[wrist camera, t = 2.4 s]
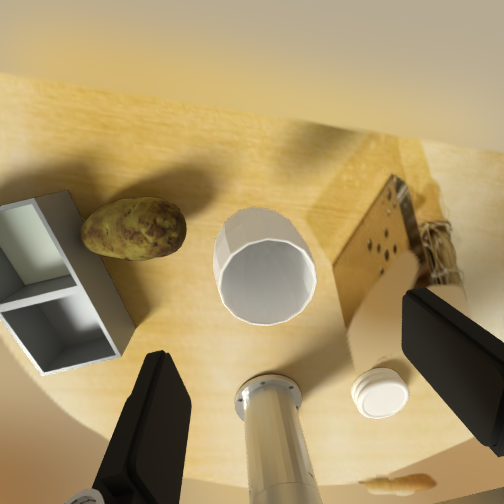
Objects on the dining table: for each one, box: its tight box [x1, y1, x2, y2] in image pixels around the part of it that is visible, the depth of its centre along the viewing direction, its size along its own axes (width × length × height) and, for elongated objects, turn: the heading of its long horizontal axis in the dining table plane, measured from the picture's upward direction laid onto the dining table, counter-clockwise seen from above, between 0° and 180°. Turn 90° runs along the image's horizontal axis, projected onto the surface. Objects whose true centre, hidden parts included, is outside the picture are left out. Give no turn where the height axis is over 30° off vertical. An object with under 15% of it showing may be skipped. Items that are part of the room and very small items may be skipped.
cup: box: [213, 207, 317, 326], centre depth 25 cm, size 7×7×21 cm
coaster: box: [351, 368, 409, 419], centre depth 49 cm, size 10×10×4 cm
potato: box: [79, 197, 186, 261], centre depth 30 cm, size 8×13×8 cm, turn 80°
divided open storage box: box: [0, 190, 136, 376], centre depth 33 cm, size 22×11×6 cm, turn 12°
